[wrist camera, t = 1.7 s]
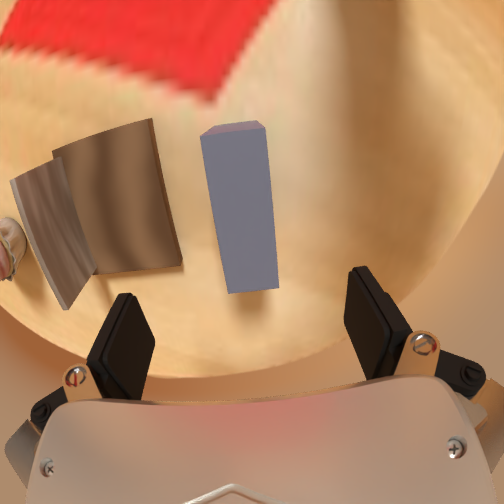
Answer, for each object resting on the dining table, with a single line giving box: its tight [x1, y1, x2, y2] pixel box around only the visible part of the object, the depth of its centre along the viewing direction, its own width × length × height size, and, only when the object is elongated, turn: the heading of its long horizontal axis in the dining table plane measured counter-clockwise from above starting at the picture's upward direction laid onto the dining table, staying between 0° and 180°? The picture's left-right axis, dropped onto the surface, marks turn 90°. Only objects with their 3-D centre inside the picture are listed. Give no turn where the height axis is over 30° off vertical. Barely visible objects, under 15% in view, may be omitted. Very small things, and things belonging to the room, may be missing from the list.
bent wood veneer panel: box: [10, 118, 183, 310], centre depth 23 cm, size 12×16×10 cm
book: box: [200, 121, 279, 294], centre depth 23 cm, size 4×12×10 cm, turn 6°
